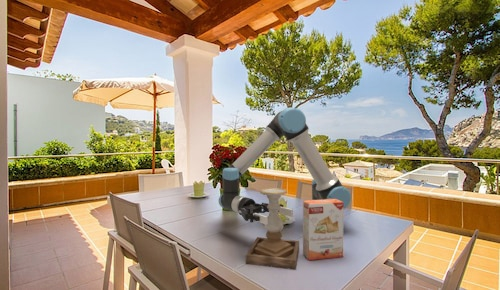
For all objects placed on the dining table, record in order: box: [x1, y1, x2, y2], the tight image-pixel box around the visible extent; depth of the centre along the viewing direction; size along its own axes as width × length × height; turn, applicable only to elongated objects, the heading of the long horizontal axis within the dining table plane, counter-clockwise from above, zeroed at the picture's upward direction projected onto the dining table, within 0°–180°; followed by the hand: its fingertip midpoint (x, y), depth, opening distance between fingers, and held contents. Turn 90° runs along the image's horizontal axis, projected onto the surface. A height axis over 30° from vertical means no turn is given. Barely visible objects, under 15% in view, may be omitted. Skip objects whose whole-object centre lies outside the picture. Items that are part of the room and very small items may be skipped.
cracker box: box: [302, 199, 345, 261], centre depth 96 cm, size 14×6×21 cm, turn 101°
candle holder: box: [254, 187, 294, 258], centre depth 97 cm, size 11×11×24 cm
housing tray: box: [245, 236, 300, 270], centre depth 97 cm, size 17×17×3 cm
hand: (280, 216), depth 94 cm, fingers open, 13 cm apart
